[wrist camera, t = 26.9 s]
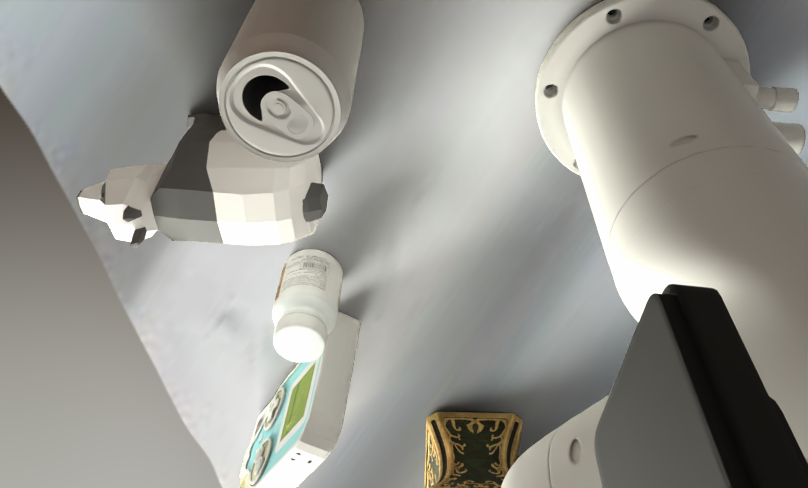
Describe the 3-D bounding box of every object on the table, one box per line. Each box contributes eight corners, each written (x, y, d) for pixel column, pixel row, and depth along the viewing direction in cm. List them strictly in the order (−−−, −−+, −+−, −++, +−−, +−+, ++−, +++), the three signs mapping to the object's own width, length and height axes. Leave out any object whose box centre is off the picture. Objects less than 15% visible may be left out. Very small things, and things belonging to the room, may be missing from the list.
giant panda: (334, 107, 48) (316, 188, 40) (340, 182, 51) (325, 270, 44) (105, 110, 48) (44, 190, 41) (125, 183, 52) (73, 271, 44)
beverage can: (299, -63, 42) (260, 13, 32) (388, 13, 44) (376, 105, 35) (235, 22, 45) (182, 115, 35) (322, 89, 47) (294, 193, 38)
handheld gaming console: (256, 399, 67) (330, 306, 58) (285, 410, 68) (363, 320, 59) (223, 518, 59) (302, 432, 50) (256, 529, 60) (340, 447, 51)
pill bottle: (271, 260, 55) (251, 334, 49) (323, 238, 54) (309, 310, 48) (304, 301, 58) (289, 376, 51) (354, 281, 56) (345, 355, 50)
